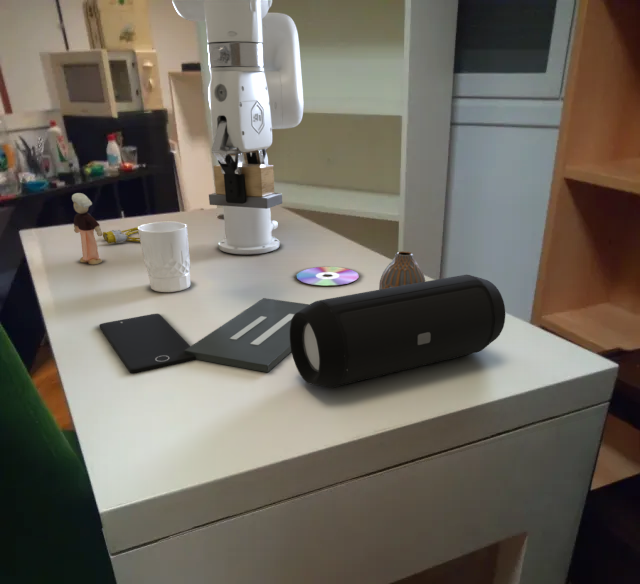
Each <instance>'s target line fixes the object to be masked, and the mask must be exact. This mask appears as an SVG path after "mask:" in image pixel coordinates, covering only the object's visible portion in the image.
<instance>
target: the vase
mask: <svg viewBox="0 0 640 584" xmlns="http://www.w3.org/2000/svg"><path fill="white" fill-rule="evenodd" d="M420 282H426V277H425V274H424V272H423V270H422V268H421V266H420V265H419V264H418V262H417V260H416V259H415V256H414V253H413V252H411V251H406V250H405V251H404V250H402V251H401V250H400V251H397V252H396V253H395V255H394V257H393V259H392V260H391V261H390V262H389V264H388V265H387V266H386V268H385V269H384V270H383V271H382V274H381V277H380V279H379V283H378V284H379V285H378V290H380V289H386V288H391V287H397V286H403V285H408V284H414V283H420Z"/></svg>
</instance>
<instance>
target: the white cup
mask: <svg viewBox="0 0 640 584" xmlns="http://www.w3.org/2000/svg"><path fill="white" fill-rule="evenodd" d="M137 227H138V230H137V231H138V238H140V239H139V240H140V242H139V243H140V247H141V251H142V256H143V260H144V265H145V269H146V272H147V275H148V279H149V284H150V289H151V290H153V291H155V292H159V293H174V292H180V291H183V290H187V289H189V287H191V285H192V283H191V272H190V271H191V260H190V259H191V257H190V245H189V231H188V224H187V223H184V222H181V221H173V220H172V221H170V220H169V221H168V220H166V221H163V220H162V221H154V222H148V223H144V224H141V225H139V226H137Z"/></svg>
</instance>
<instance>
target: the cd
mask: <svg viewBox="0 0 640 584" xmlns="http://www.w3.org/2000/svg"><path fill="white" fill-rule="evenodd" d="M326 275H329V276H326ZM359 277H360V275H359V273H358V272H357V271H355V270H353V269H350V268H345V267H340V266H317V267H311V268H306V269H304V270H301V271H299V272H298V273H297V274H296V278H297V280H298V281H300V282H302V283H303V284H307V285H312V286H322V287H330V286H331V287H332V286H342V285H346V284H351V283H353V282H355V281H357V280H358V279H359Z"/></svg>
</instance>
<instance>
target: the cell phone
mask: <svg viewBox="0 0 640 584" xmlns="http://www.w3.org/2000/svg"><path fill="white" fill-rule="evenodd" d="M99 330H100V331H101V333H102V334H103V336H104V337H105V338H106V340H107V341H108V343H109V345H110V346H111V347H112V349H113V350H114V352H115V353H116V354H117V355H116V356H118V358H119V359H120V360H121V362H122V364H123V365H124V367H125V368H126V370H127V371H128V372H129V373H130V374H131V375H132V374H133V375H135V374H139V373H144V372H149V371H153V370H157V369H162V368H167V367H171V366H175V365H180V364H185V363H189V362H193V361H197V359H196V356H193V355H188V354H185V350H186V349H187V348H189V347H190V346H191V345H190V344H189V343H188V342H187V341H186V339H184V337H182V336H181V334H179V333H178V332H177V331H176V330H175V328H174V327H173V326H172V325H171V324H170V323H168V321H167V320H166V319H165V318H164V317H163V316H162V315H161V314H160V313H151V314H145V315H141V316H139V315H138V316H135V317H129V318H124V319H123V318H122V319H119V320H114V321H113V320H112V321H108V322H102V323H100V324H99Z"/></svg>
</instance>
